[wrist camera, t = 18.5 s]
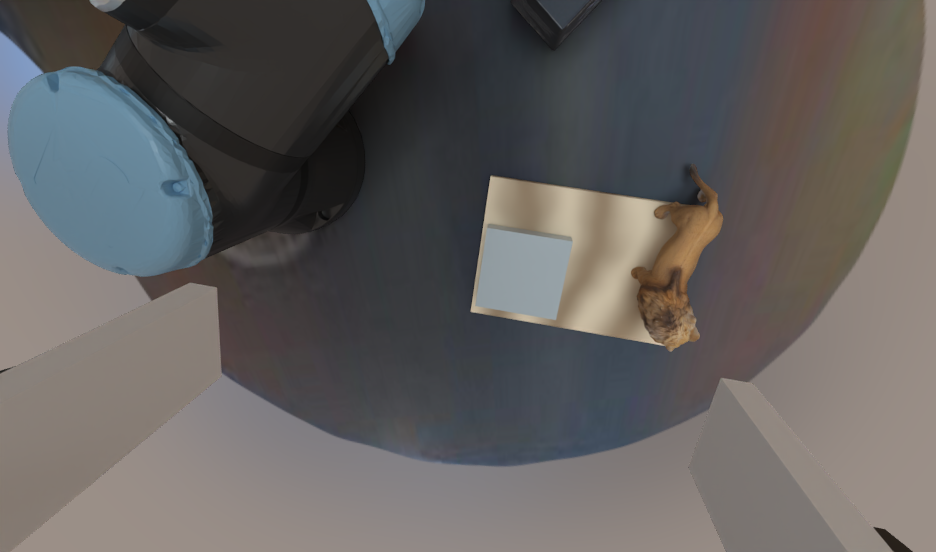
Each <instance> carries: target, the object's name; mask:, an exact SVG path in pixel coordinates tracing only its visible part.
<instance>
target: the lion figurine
mask: <svg viewBox="0 0 936 552" xmlns="http://www.w3.org/2000/svg"><path fill="white" fill-rule="evenodd" d="M690 175H691V177H692V179H693V180H694V182H695V183H696V184H697V185H698V186H699V187H700V189H701V190H700V191H699V193H698V196H697V197H698V199H699V201H700V202H706V204H705V205H704V206H700V205H687V206H681V205H680V203H679V202H673V203H671V204H668V205H662V206H660V207H658V208H657V209H656V210H655V211H654V215H655V217H656V218H658V219H661V220H663V219H665V218H666V217H667V215H668V214H669V212H670V214H671V220H672V222H673V223H674V224H675V225H676V227H677V231H676V232H675V234H674V235H673V236H672V237H671V238H670V239H669V240H668V241H667V242H666V243H665V244H664V245H663V247H662V248H661V250H660V252H659V253H658V255H657V258H656V260H655V263H654V266H653V268H652V270H649V271H647V270H646V268H645V267H636V268H634V269H632V271H631V275H632V277H633V278H634V279H638V281H639V283H640V284H641V286H640V289H639V292H638V294H637V296H636V297H637V300H638V309H639V312H640V316H641V319H642V320H643V323H644V327H645V329H646V330H647V331H648V332H649V335H650V337H651V338H652V339H653V340H654V341H655V342H657V343H661V344H663V345H665V346H666V348H667V349H668V350H669V351H673V349H674V348H678V347H679V346H680V344H684V343H685V342H688V341H696V340H698V339H699V337H700V334H699V333H698V330H697V328H696V327H695V323H696V318H695V317H694V316H693V311H692V307H691V306H690V304H689V302H690V301H689V298H688V295H687V282H688V280H689V278H690V277H691V275H692V273H693V271H694V269H695V267H696V265H697V262H698V259H699V256H700V254H701V252H702V250H703V249H704V247H705V246H706V245H707V244H708V243H710V242H711V241H712V240H713V239H714V238H715V237H716V236H717V235H718V234H719V232H720V229H721V226H722V222H723V216H722V214H721V213H720V212H719V210H718V202H717V193H716V192H715V191H714V190H712V189H711V188H710V187H708V186H707V185H706V184H705V183H704V182H703V181H702V180H701V178H700V177H699V175H698V171H697V168H696V165H695V164H691V167H690Z"/></svg>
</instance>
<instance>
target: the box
mask: <svg viewBox="0 0 936 552" xmlns="http://www.w3.org/2000/svg"><path fill="white" fill-rule="evenodd" d="M601 1H602V0H511V3H512V4H513V5H514V7H515V8H516V9H517V10H518V11H519V12H520V14H521V15H522V16H523V17H524V18H525V19H526V21H527V22H528V23H529V24H530V25H531V26H532V27H533V28H534V29H535V31H536V32H537V33H538V34H539V35H540V36H541V37H542V38H543V40H544V41H545V42H546V43H547V44H548V46H549V47H550V48H551V49H552V50H555V49H556V48H557V47H558V46H559V45H560V44H561V43H562V42H563V41H564V40H565V39H566V38H567V37H568V36H569V35H570V33H571V32H572V31H573V30H574V29H575V28H576V27H577V26H578V25H579V24H580V23H581V22H582V21H583V20H584V19H585V18H586V17H587V15H588V14H589V13H591V11H592V10H593V9H594V8H595V7H596V6H597V5H598V4H599V3H600V2H601Z"/></svg>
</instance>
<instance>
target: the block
mask: <svg viewBox="0 0 936 552" xmlns="http://www.w3.org/2000/svg"><path fill="white" fill-rule="evenodd" d="M572 243H573V241H572V238H571V237H569V236H563V235H556V234H550V233H544V232H538V231H531V230H525V229H519V228H513V227H506V226H500V225H494V224H488V227H487V231H486V238H485V244H484V251H483V258H482V265H481V271H480V278H479V285H478V291H477V298H476V305H475V306H478V307H484V308H490V309H495V310H501V311H507V312H513V313H518V314H524V315H530V316H535V317H541V318H547V319H553V320H556V317H557V313H558V308H559V303H560V299H561V294H562V290H563V285H564V280H565V276H566V271H567V266H568V262H569V257H570V252H571V248H572Z"/></svg>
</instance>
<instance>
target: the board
mask: <svg viewBox="0 0 936 552" xmlns="http://www.w3.org/2000/svg"><path fill="white" fill-rule="evenodd" d="M671 203H672V202H665V201H659V200H652V199H646V198H639V197H632V196H626V195H619V194H613V193H606V192H599V191H593V190H586V189H579V188H573V187H566V186H560V185H553V184H546V183H540V182H533V181H527V180H520V179H513V178H507V177H500V176H493V175H491V176H490V183H489V190H488V197H487V203H486V210H485V217H484V224H483V231H482V238H481V244H480V251H479V258H478V265H477V272H476V279H475V285H474V292H473V299H472V306H471V312H475V313H481V314H487V315H492V316H498V317H504V318H509V319H515V320H521V321H526V322H532V323H538V324H544V325H549V326H555V327H561V328H566V329H572V330H578V331H583V332H589V333H595V334H601V335H606V336H612V337H618V338H623V339H629V340H635V341H640V342H646V343H652V344H658V345H663V344H661V343H657V342H655V341H654V340H653V339H652V338H651V337H650V335H649V332H648V331H647V330H646V329H645V327H644V323H643V320H642V319H641V316H640V312H639V309H638V300H637V297H636V296H637V294H638V292H639V289H640V286H641V284H640V283H639V281H638V279H634V278H633V277H632V275H631V271H632V269H634V268H636V267H645V268H646V270H647V271H649V270H652V268H653V266H654V263H655V260H656V258H657V255H658V253H659V252H660V250H661V248H662V247H663V245H664V244H665V243H666V242H667V241H668V240H669V239H670V238H671V237H672V236H673V235H674V234H675V232H676V231H677V227H676V225H675V224H674V223H673V222H672V220H671V214H670V212H669V214H668V215H667V217H666V218H665V219H663V220H661V219H658V218H656V217H655V215H654V211H655V210H656V209H657V208H658V207H660V206H662V205H668V204H671ZM680 205H681V206H687V205H685V204H680ZM488 224H494V225H500V226H506V227H513V228H519V229H525V230H531V231H538V232H544V233H550V234H556V235H563V236H569V237H571V238H572V241H573V243H572V248H571V252H570V257H569V262H568V266H567V271H566V276H565V280H564V285H563V290H562V294H561V299H560V303H559V308H558V313H557V317H556V320H553V319H547V318H541V317H535V316H530V315H524V314H518V313H513V312H507V311H501V310H495V309H490V308H484V307H478V306H475V305H476V298H477V291H478V285H479V278H480V271H481V265H482V258H483V251H484V244H485V238H486V231H487V227H488ZM663 346H665V345H663Z"/></svg>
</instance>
